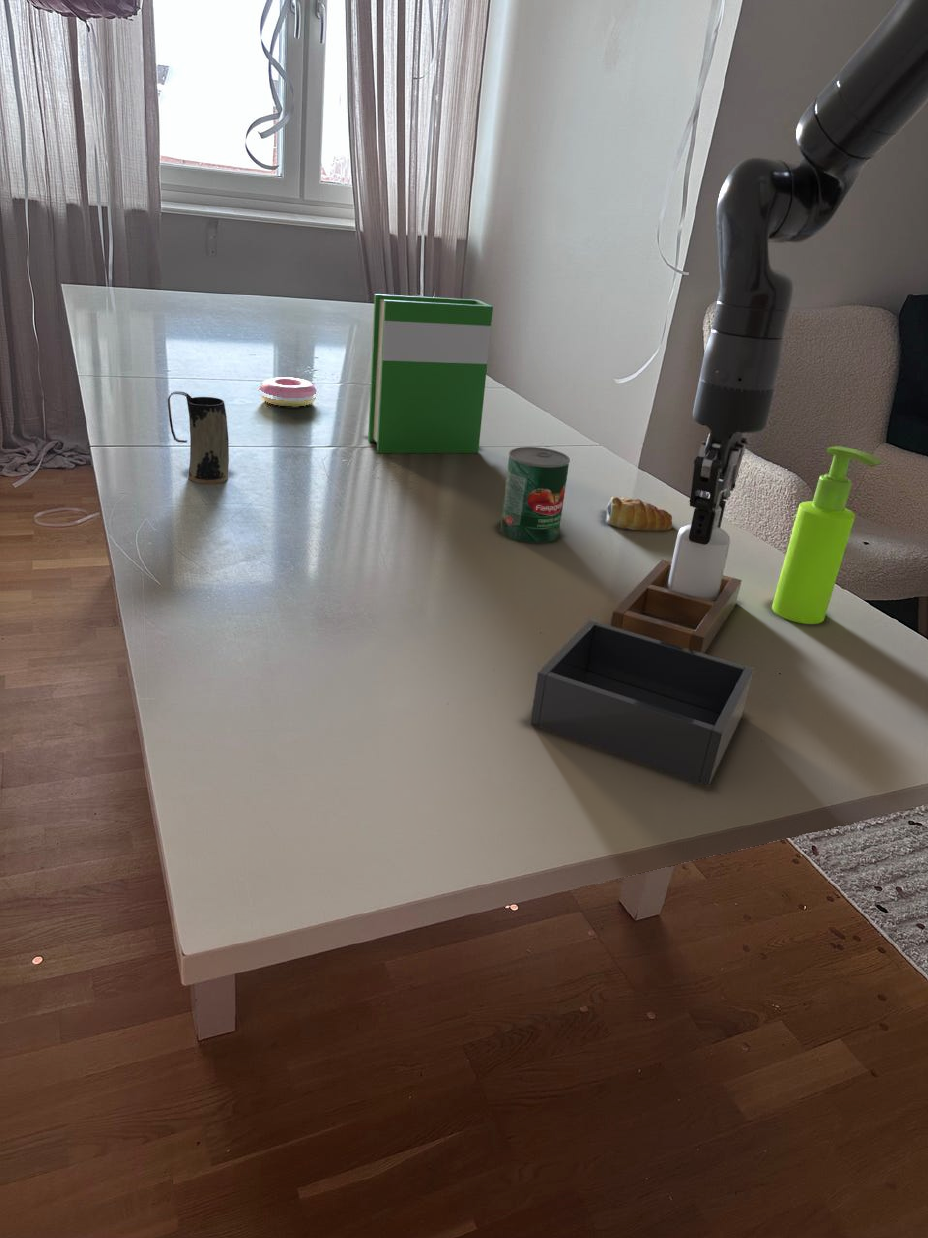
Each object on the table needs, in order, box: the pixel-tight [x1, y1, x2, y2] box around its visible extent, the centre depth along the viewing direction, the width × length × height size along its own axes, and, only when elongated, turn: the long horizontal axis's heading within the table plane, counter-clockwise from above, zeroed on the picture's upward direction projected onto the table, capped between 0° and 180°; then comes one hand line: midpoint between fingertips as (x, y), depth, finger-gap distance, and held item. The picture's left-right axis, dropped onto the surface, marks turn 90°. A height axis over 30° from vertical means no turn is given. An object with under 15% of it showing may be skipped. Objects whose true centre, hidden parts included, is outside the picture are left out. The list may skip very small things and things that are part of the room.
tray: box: [609, 558, 742, 654], centre depth 99 cm, size 10×18×4 cm, turn 152°
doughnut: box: [259, 376, 318, 408], centre depth 172 cm, size 11×11×4 cm
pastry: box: [605, 496, 673, 532], centre depth 126 cm, size 9×7×4 cm
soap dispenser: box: [771, 445, 884, 625], centre depth 99 cm, size 6×7×20 cm
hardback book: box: [367, 293, 494, 454], centre depth 149 cm, size 18×7×24 cm, turn 108°
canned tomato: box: [500, 446, 571, 544], centre depth 117 cm, size 8×8×11 cm
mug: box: [167, 390, 230, 485], centre depth 126 cm, size 8×6×12 cm
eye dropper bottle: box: [666, 495, 731, 602], centre depth 99 cm, size 4×6×12 cm
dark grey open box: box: [529, 619, 755, 788], centre depth 78 cm, size 16×13×6 cm
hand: (704, 535), depth 99 cm, fingers closed on eye dropper bottle, 4 cm apart
